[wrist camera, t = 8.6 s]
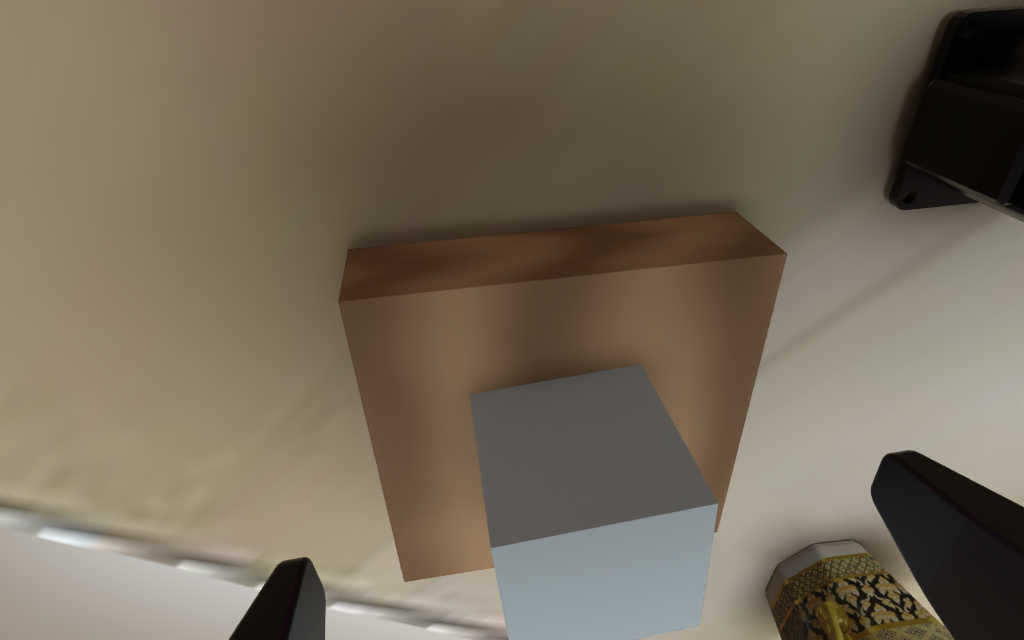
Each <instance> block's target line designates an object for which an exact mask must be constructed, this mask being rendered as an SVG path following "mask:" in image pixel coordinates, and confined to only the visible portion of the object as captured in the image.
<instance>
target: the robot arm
mask: <svg viewBox="0 0 1024 640" xmlns="http://www.w3.org/2000/svg"><path fill="white" fill-rule="evenodd" d="M967 23H968V25H967V29H966V30H965V32H964V33H963V34H962V30H963V28H964V26H965V25H966V24H967ZM908 192H909V193H908ZM906 193H908V194H907V196H906V197H905V198H904V196H905V194H906ZM903 198H904V199H903ZM889 201H890V203H891V204H892V205H893V206H895V207H897V208H899V209H901V210H911V209H921V208H930V207H940V206H949V205H959V204H968V203H978V202H980V203H983V204H985V205H987V206H989V207H991V208H993V209H996V210H998V211H1000V212H1002V213H1004V214H1007V215H1009V216H1011V217H1013V218H1015V219H1018V220H1020V221H1022V222H1024V6H1023V7H1008V8H993V9H977V10H965V11H962V12H959V13H958V14H956V15H955V16H954V17H953V18H952V19H951V20H950V21H949V23H948V25H947V27H946V29H945V31H944V34H943V37H942V40H941V43H940V46H939V49H938V52H937V55H936V58H935V61H934V64H933V67H932V70H931V73H930V76H929V79H928V82H927V85H926V88H925V91H924V94H923V97H922V100H921V103H920V106H919V109H918V112H917V115H916V118H915V121H914V124H913V127H912V130H911V133H910V135H909V138H908V141H907V144H906V147H905V150H904V153H903V156H902V159H901V162H900V165H899V168H898V171H897V174H896V177H895V180H894V183H893V186H892V189H891V192H890V195H889ZM871 496H872V499H873V502H874V504H875V506H876V508H877V510H878V512H879V514H880V515H881V517H882V519H883V521H884V523H885V525H886V526H887V528H888V530H889V532H890V534H891V535H892V537H893V539H894V541H895V543H896V545H897V546H898V548H899V550H900V552H901V554H902V556H903V557H904V559H905V561H906V563H907V565H908V567H909V568H910V570H911V572H912V574H913V576H914V578H915V579H916V581H917V583H918V584H919V586H920V588H921V590H922V591H923V593H924V595H925V596H926V598H927V599H928V601H929V602H930V604H931V606H932V607H933V609H934V610H935V612H936V613H937V615H938V616H939V618H940V619H941V621H942V622H943V624H944V625H945V627H946V628H947V630H948V631H949V632H950V634H951V635H952V637H953V638H954V640H1024V507H1022V506H1021V505H1019V504H1017V503H1015V502H1013V501H1011V500H1009V499H1007V498H1005V497H1003V496H1001V495H999V494H997V493H995V492H994V491H992V490H990V489H988V488H986V487H984V486H982V485H980V484H978V483H976V482H974V481H972V480H970V479H969V478H967V477H965V476H963V475H961V474H959V473H957V472H955V471H953V470H951V469H949V468H947V467H945V466H943V465H942V464H940V463H938V462H936V461H934V460H932V459H930V458H928V457H926V456H924V455H922V454H920V453H918V452H915V451H911V450H906V451H900V452H894V453H889V454H887V455H885V456H884V457H883V459H882V461H881V463H880V466H879V468H878V471H877V473H876V476H875V478H874V481H873V483H872V486H871ZM325 611H326V600H325V592H324V588H323V586H322V583H321V581H320V579H319V577H318V574H317V572H316V570H315V568H314V566H313V563H312V561H311V560H310V559H309V558H307V557H302V558H296V559H291V560H285V561H282V562H281V563H279V564H278V565H277V566H276V568H275V569H274V571H273V572H272V574H271V575H270V577H269V578H268V580H267V581H266V583H265V584H264V586H263V588H262V589H261V591H260V592H259V594H258V595H257V597H256V598H255V600H254V601H253V603H252V604H251V606H250V608H249V609H248V611H247V612H246V614H245V615H244V617H243V618H242V620H241V621H240V623H239V624H238V626H237V628H236V629H235V631H234V632H233V634H232V635H231V637H230V638H229V640H325Z"/></svg>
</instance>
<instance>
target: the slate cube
mask: <svg viewBox="0 0 1024 640" xmlns="http://www.w3.org/2000/svg"><path fill="white" fill-rule="evenodd" d="M469 396H470V403H471V410H472V417H473V424H474V432H475V439H476V446H477V453H478V460H479V467H480V474H481V482H482V489H483V496H484V503H485V510H486V517H487V524H488V531H489V539H490V546H491V552H492V557H493V562H494V567H495V572H496V577H497V582H498V587H499V592H500V597H501V602H502V607H503V612H504V618H505V623H506V628H507V633H508V638H509V640H635V639H639V638H644V637H649V636H653V635H658V634H663V633H668V632H672V631H677V630H682V629H686V628H691V627H696V626H700V619H701V613H702V606H703V600H704V593H705V587H706V580H707V574H708V567H709V561H710V554H711V548H712V541H713V535H714V528H715V522H716V515H717V509H718V502H717V500H716V498H715V497H714V495H713V493H712V491H711V489H710V488H709V486H708V484H707V482H706V480H705V479H704V477H703V475H702V473H701V471H700V470H699V468H698V466H697V464H696V462H695V461H694V459H693V457H692V455H691V453H690V452H689V450H688V448H687V446H686V444H685V443H684V441H683V439H682V437H681V435H680V433H679V432H678V430H677V428H676V426H675V424H674V423H673V421H672V419H671V417H670V415H669V414H668V412H667V410H666V408H665V406H664V405H663V403H662V401H661V399H660V397H659V396H658V394H657V392H656V390H655V388H654V387H653V385H652V383H651V381H650V379H649V378H648V376H647V374H646V372H645V370H644V369H643V367H642V365H641V364H639V365H633V366H627V367H622V368H616V369H611V370H605V371H599V372H594V373H588V374H582V375H577V376H571V377H565V378H560V379H554V380H548V381H543V382H537V383H532V384H526V385H520V386H515V387H509V388H503V389H498V390H492V391H486V392H481V393H475V394H469Z"/></svg>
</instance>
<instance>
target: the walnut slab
mask: <svg viewBox="0 0 1024 640" xmlns="http://www.w3.org/2000/svg"><path fill="white" fill-rule="evenodd" d="M786 256H787V253H786V252H784V251H783V250H782V249H781V248H780V247H778V246H777V245H776V244H775V243H773V242H772V241H771V240H770V239H769V238H767V237H766V236H765V235H764V234H762V233H761V232H760V231H759V230H758V229H756V228H755V227H754V226H753V225H751V224H750V223H749V222H748V221H747V220H745V219H744V218H743V217H742V216H740V215H739V214H738V213H737V212H728V213H718V214H708V215H697V216H687V217H677V218H667V219H656V220H646V221H636V222H626V223H615V224H605V225H595V226H584V227H574V228H564V229H554V230H543V231H533V232H523V233H513V234H502V235H492V236H482V237H471V238H461V239H451V240H441V241H430V242H420V243H410V244H400V245H389V246H379V247H369V248H358V249H348V254H347V259H346V264H345V270H344V275H343V280H342V286H341V291H340V296H339V306H340V310H341V315H342V319H343V323H344V327H345V332H346V336H347V340H348V344H349V349H350V353H351V357H352V361H353V366H354V370H355V374H356V378H357V383H358V387H359V391H360V395H361V400H362V404H363V408H364V412H365V417H366V421H367V425H368V429H369V434H370V438H371V442H372V446H373V451H374V455H375V459H376V463H377V468H378V472H379V476H380V480H381V485H382V489H383V493H384V497H385V502H386V506H387V510H388V514H389V519H390V523H391V527H392V532H393V536H394V540H395V544H396V549H397V553H398V557H399V561H400V566H401V570H402V574H403V578H404V582H407V581H413V580H420V579H426V578H432V577H439V576H445V575H451V574H457V573H464V572H470V571H476V570H482V569H489V568H495V567H494V562H493V557H492V552H491V546H490V539H489V531H488V524H487V517H486V510H485V503H484V496H483V489H482V482H481V474H480V467H479V460H478V453H477V446H476V439H475V432H474V424H473V417H472V410H471V403H470V396H469V394H475V393H481V392H486V391H492V390H498V389H503V388H509V387H515V386H520V385H526V384H532V383H537V382H543V381H548V380H554V379H560V378H565V377H571V376H577V375H582V374H588V373H594V372H599V371H605V370H611V369H616V368H622V367H627V366H633V365H639V364H641V365H642V367H643V369H644V370H645V372H646V374H647V376H648V378H649V379H650V381H651V383H652V385H653V387H654V388H655V390H656V392H657V394H658V396H659V397H660V399H661V401H662V403H663V405H664V406H665V408H666V410H667V412H668V414H669V415H670V417H671V419H672V421H673V423H674V424H675V426H676V428H677V430H678V432H679V433H680V435H681V437H682V439H683V441H684V443H685V444H686V446H687V448H688V450H689V452H690V453H691V455H692V457H693V459H694V461H695V462H696V464H697V466H698V468H699V470H700V471H701V473H702V475H703V477H704V479H705V480H706V482H707V484H708V486H709V488H710V489H711V491H712V493H713V495H714V497H715V498H716V500H717V502H718V509H717V515H716V522H715V528H714V532H717V530H718V526H719V522H720V518H721V514H722V510H723V506H724V503H725V499H726V495H727V491H728V487H729V483H730V479H731V475H732V471H733V467H734V463H735V459H736V455H737V451H738V447H739V443H740V439H741V435H742V431H743V427H744V423H745V419H746V415H747V411H748V407H749V403H750V399H751V395H752V391H753V387H754V383H755V379H756V375H757V371H758V367H759V363H760V360H761V356H762V352H763V348H764V344H765V340H766V336H767V332H768V328H769V324H770V320H771V316H772V312H773V308H774V304H775V300H776V296H777V292H778V288H779V284H780V280H781V276H782V272H783V268H784V264H785V260H786Z"/></svg>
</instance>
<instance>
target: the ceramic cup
mask: <svg viewBox="0 0 1024 640" xmlns="http://www.w3.org/2000/svg"><path fill="white" fill-rule="evenodd" d="M766 591H767V594H766V596H767V599H768V602H769V605H770V608H771V612H772V614H773V617H774V620H775V622H776V625H777V628H778V630H779V633H780V636H781V639H782V640H954V638H953V637H952V635H951V634H950V632H949V631H948V630H947V628H946V627H945V626H944V625H942V624H941V623H940V622H939V621H938V620H937V619H936V618H935V617H933V616H932V615H931V614H930V613H929V612H928V611H927V610H926V609H925V608H924V607H923V606H922V605H921V604H920V603H919V602H918V601H917V600H916V599H915V598H914V597H912V596H911V595H910V594H909V593H908V592H907V591H906V590H905V589H904V588H903V587H902V586H901V585H900V584H899V583H898V582H897V581H896V580H895V579H894V578H893V577H892V576H891V575H890V574H889V573H888V572H887V571H886V570H885V569H884V568H883V567H882V566H881V565H880V564H879V563H878V562H877V561H876V559H874V558H873V557H872V556H871V555H870V554H869V553H868V552H867V551H866V550H865V549H864V548H863V547H862V546H861V545H860V544H858V543H856V542H854V541H852V540H850V541H840V542H831V543H822V544H813V545H811V546H809V547H808V548H806V549H804V550H802V551H801V552H799V553H797V554H796V555H794V556H792V557H791V558H789V559H787V560H786V561H784V562H782V563H780V564H779V565H778V567H777V568H776V570H775V572H774V575H773V577H772V579H771V581H770V583H769V585H768V587H767V589H766Z"/></svg>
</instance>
